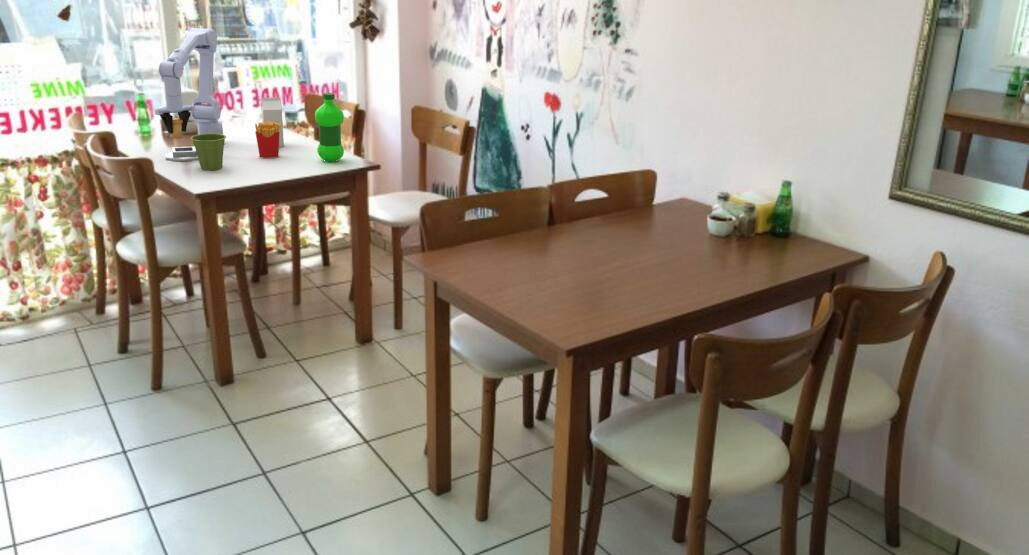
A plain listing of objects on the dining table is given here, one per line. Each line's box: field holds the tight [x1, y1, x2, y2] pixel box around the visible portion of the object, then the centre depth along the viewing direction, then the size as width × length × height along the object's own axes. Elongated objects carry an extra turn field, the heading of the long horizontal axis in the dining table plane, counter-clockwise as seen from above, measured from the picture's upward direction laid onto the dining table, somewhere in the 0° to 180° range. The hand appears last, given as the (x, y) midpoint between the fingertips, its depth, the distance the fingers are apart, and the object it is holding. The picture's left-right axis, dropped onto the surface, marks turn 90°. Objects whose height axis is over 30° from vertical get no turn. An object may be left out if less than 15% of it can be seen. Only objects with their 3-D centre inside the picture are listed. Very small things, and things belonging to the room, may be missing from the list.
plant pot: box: [190, 134, 227, 171], centre depth 295 cm, size 12×12×11 cm
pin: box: [169, 117, 183, 140], centre depth 307 cm, size 5×5×7 cm
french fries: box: [254, 122, 281, 158], centre depth 314 cm, size 9×4×13 cm, turn 108°
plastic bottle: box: [314, 92, 345, 162], centre depth 311 cm, size 10×10×25 cm
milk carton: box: [260, 97, 285, 148], centre depth 330 cm, size 7×7×19 cm
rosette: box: [165, 145, 199, 163], centre depth 310 cm, size 20×13×3 cm, turn 113°
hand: (177, 132), depth 307 cm, fingers closed on pin, 5 cm apart
